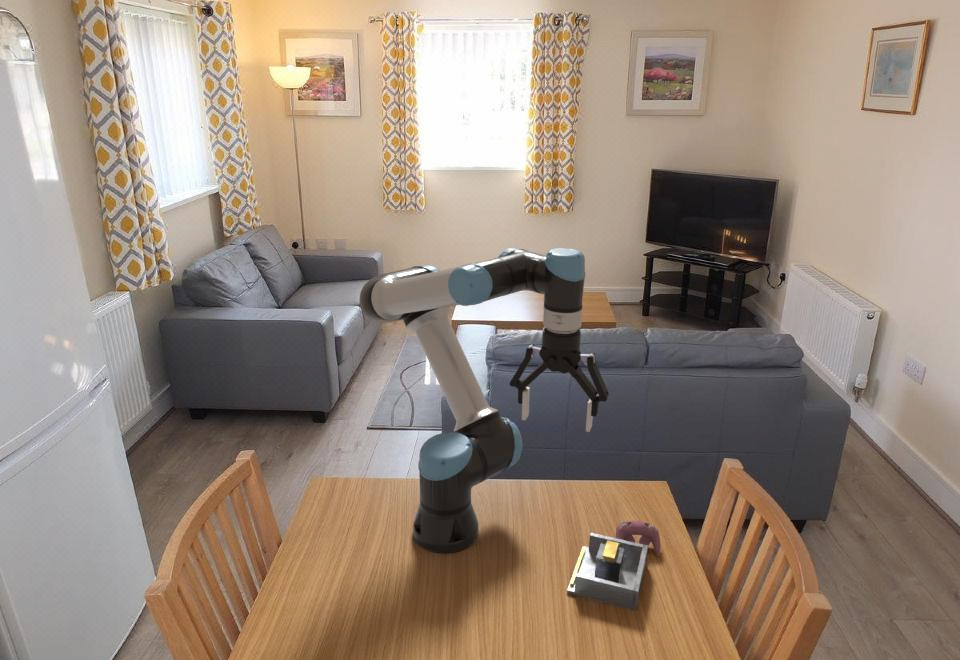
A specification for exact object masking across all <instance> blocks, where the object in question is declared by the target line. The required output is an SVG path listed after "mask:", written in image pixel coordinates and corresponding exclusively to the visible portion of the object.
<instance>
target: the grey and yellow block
mask: <svg viewBox="0 0 960 660" xmlns="http://www.w3.org/2000/svg"><path fill="white" fill-rule="evenodd" d="M618 546H619V543H617V542H612V541H608V540H607V543H606V544H602V543H601V544H600V547H599V550H598V554H597V557H596V566H595V578H599V579H604V580H608V581H612V582H616V583H619V582H620V578H621V574H622V568H623V558H624V548H620V547H618Z"/></svg>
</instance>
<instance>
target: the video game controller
mask: <svg viewBox="0 0 960 660" xmlns="http://www.w3.org/2000/svg"><path fill="white" fill-rule="evenodd" d="M634 536H641V537H640V538H639V541H638V543H639V544H643V545H648V547H649V546H650V543H652V547H653V550H654V554H655V556H658V557H659V556H660V554H661V537H660V531H659V529H658V528H657V527H656V526H655V525H653V524H650V523H648V522H646V521H640V520H629V521H624V522H620V523H618V524H617V525H616V530H615V538H617V539H621V540H625V541H630V542H634V543H636V539H635V537H634Z"/></svg>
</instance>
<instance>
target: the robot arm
mask: <svg viewBox="0 0 960 660" xmlns="http://www.w3.org/2000/svg"><path fill="white" fill-rule="evenodd" d="M585 260H586V257H585V255H584V253H583V252H582V251H579V250H578V249H574V248H567V247H559V248H557V247H555V248H552V249H550V250H548V251H547V253H546V254H544V255H543V254H541V253H536V252H532V251H529V250H527V249H523V248H514V247H511V248H510V247H509V248H507V249H505V250H503V252H502V253H500V254H499V255H498V256H497V257H495V258H492V259H487V260H484V261H479V262H474V263H469V264H463V265H461V266H455V267H451V268H450V267H449V268H446V269H441V270H440V269H439V268H437V267H435V266H432V265H427V264H426V265H414V266H412V267H408V268H404V269H399V270H397V271H396V270H395V271H392V272H388V273H382V274H379V275H376V276H374V277H372V278H370V279H368V281H367V282H366V283H364V285H363V286H362V289H361V290H360V293H359V299H358V300H359V305H360V306H359V307H360V308H361V310H362V313H363V314H364V315H365V316H366V317H367V318H368V319H370V320H371V321H373V322H376V323H380V324H382V323H383V324H388V323H394V322H398V321H402V320H403V323H404V325H405V327H406V329H407V330H409V331H411V332H414V333H415V334H416V337H417V338H418V341H419V343H420V345H421V348H422V350H423V351H424V353H425V356H426V358H427V360H428V362H429V366H431V369H432V372H433V373H434V376H435V377H436V380H437V382H438V385H439V386H440V388H441V390H442V393H443V395H444V398H445V399H446V402H447V403H448V406H449V408H450V410H451V412H452V414H453V416H454V419H455V420H456V423H455V426H454V429H453V431H449V432H448V433H445V432H441V433H438V434H435V435H433V436H431V437H429V438H428V439H426V441H424V443H423V444H422V446H421V448H420V449H419V456H418V457H419V459H418V465H417V466H418V471H419V474H418V475H419V506H418V509H417V512H416V514H415V517H414V520H413V525H412V530H413V531H412V534H413V539H414V541H415V542H416V543H417V544H418V546H420V547H421V548H423V549H425V550H426V551H430V552H433V553H439V554H440V553H441V554H448V553H455V552H460V551H463V550H465V549H467V548H468V547H470V546H472V545H473V544H474V543H475V542H476V541H477V539H478V536H479V521H478V518H477V515H476V512H475V509H474V507H473V504H472V488H474V487H476V486H477V485H479V484H480V483H482V482H485V481H487V480H488V479H491V478H493V477H495V476H497V475H498V474H500V473H503V472H506V471H507V470H508V469H510V468H511V467H513V466H514V465H515V464H516V463H517V462H519V460H520V458H521V456H522V451H523V439H522V435H521V432H520V429H519V428H518V426H517V425H516V423H515V422H513V421H512V420H511V419H510V418H508V417H503V416H501V414H500V412H499V410H498V409H496V408H494V407H491V406H490V405H489V403H488V400H487V399H486V397H485V394H484V392H483V391H482V390H483V389H482V388H481V385H479V381H478V380H477V378H476V375H475V373H474V370H473V369H472V367H471V364H470V363H469V362H470V361H468V359H467V356H466V355H465V352H464V350H463V348H462V346H461V343H460V342H459V339H458V337H457V334H456V332H455V331H454V329H453V327H452V324H451V322H450V320H449V318H448V317H449V313H450V311H451V308H450V307H454V306H463V307H469V306H475V305H479V304H482V303H485V302H487V301H491V300H494V299H496V298H497V299H498V298H500V297H505V296H508V295H511V294H514V293H515V294H516V293H518V292H522V291H530V292H534V293H537V294H541V295H543V316H542V319H543V321H542V324H543V327H542V335H541V337H542V338H541V339H542V341H541V347H538V346H535V344H533V343H530V344H529V346H527V347H526V349H525V355H524V358H523V360H522V362H521V363H520V365H519V367H518V368H517V370H516V372H515V374H514V375H513V376H512V379H511V380H510V381H509V385H510V387H513V388H516V389H517V402H518V404H520V405H521V421H526V420H527V419H528V417H529V415H530V397H531V396H530V394H531V393H530V392H531V387H529V385H530V384H531V383H533V381H534V380H536V379H537V378H538V377H539V376H540V375H541V374H542V373H544V372H545V371H546V370H547V369H548V370H550V372H553V373H561V374H567V373H569V375H570V376H571V377H572V378H574V379H575V381H576V383H578V385H579V387H581V389H582V390H583V392H584V393H585V395H586V396H587V397H588V398H589V400H588V401H587V407H586V422H585V432H587V433H590V431H591V430H592V427H593V419H594V417H597V415H598V413H599V408H600V407H599V405H600V402H607V400H608V398H609V396H610V393H609V390H608V388H607V386H606V384H605V382H604V381H605V380H604V379H603V377H602V374H601V372H600V369H599V367H598V365H597V361H596V359H597V358H596V357H597V356H596V353H595V352H593V351H592V352H591V351H590V353H588V354H587V353H581V347H580V346H581V334H582V333H581V332H582V330H581V329H580V328H582V322H583V320H582V319H583V318H582V317H583V297H584V287H585V278H586V261H585ZM538 355H539V357H540V359H541V360H542V362H541V363H540V365H538V366H537V367H536V368H534V370H533V371H531V372H530V374H528V376H526V377H525V378H523V380H520V379H521V377H522V376H523V374H524V373H525V371H526V369H527V367H528V366H529V364H530V362H531V361H532V359H534V358H536V356H538ZM580 361H582V362H583V364H584V365H585V366H586V367H587V371H588V373H589V376H590V378H591V379H592V382H593V384H592V382H591V381H590V380H589V378H588V377H587V375H585V373H584V371H583V370H582V367H581V366H580V365H579V363H580Z"/></svg>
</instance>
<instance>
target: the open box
mask: <svg viewBox="0 0 960 660" xmlns="http://www.w3.org/2000/svg"><path fill="white" fill-rule="evenodd" d="M607 540H608V541H612V542H617V543H619V546H618V547H620V548H624V558H623V568H622V574H621V578H620V582H619V583H616V582H612V581H608V580H604V579H599V578H595V566H596V557H597V554H598V550H599V547H600V544H601V543H602V544H606V543H607ZM648 548H649V546H648V545H643V544H639V542H635V543H634V542H630V541H625V540H621V539H617V538H616V537H612V536H606V535H604V534H599V533H595V532H590V533H589V541H588V546H584V545H582V548H581V549H580V550H581V551H580V553H579V557H578V558H577V561H576V563H575V567H574V570H573V573H572V577H571V579H570V581H569V584H568V587H567V591H566V593H567V594H568V595H569V594H570V595H574V596H576V597H577V596H578V597H581V598H585V599H588V600H591V601H592V600H593V601H596V602H600V603H604V604H608V605H611V606H616V607H620V608H623V609H626V610H627V609H628V610H632V611H635V612H636V611H637V608H638V603H639V602H638V601H639V600H640V595H641V594H640V593H641V589H642V583H643V580H644V574H645V570H646V565H647V559H648V558H647V557H648Z"/></svg>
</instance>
